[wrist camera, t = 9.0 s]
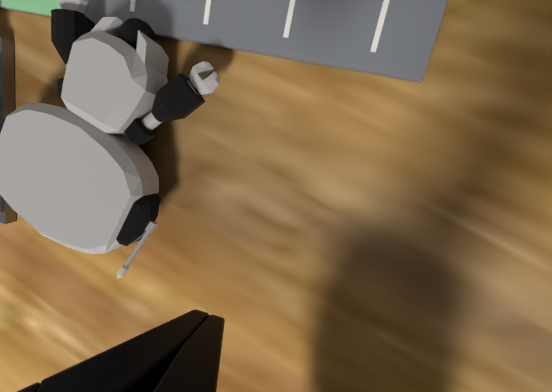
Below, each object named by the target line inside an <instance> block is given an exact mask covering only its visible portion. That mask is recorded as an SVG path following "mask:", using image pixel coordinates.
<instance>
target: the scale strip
mask: <svg viewBox="0 0 552 392" xmlns="http://www.w3.org/2000/svg"><path fill="white" fill-rule="evenodd" d="M447 2H448V0H89V3H90V8H89V9H88V11H87V13H86V15H85V16H86V17H88V18H89V19H90V20H91V21H93V22H94V23H95V25H96V24H97V23H98V22H99V21H100V20H101V19H102V18H103V17H117V18H119V19H120V20H122V21H123V22H124V21H126V20H127V19H128V18H138V19H141V20H143V21H145V22H147V23H148V24H149V25H150V26H151V28H152V29H153V30H154V33H155V36H160V37H165V38H171V39H177V40H182V41H188V42H194V43H199V44H205V45H211V46H216V47H222V48H228V49H233V50H239V51H245V52H250V53H256V54H262V55H267V56H273V57H279V58H284V59H290V60H296V61H301V62H307V63H313V64H318V65H324V66H330V67H335V68H341V69H347V70H352V71H358V72H364V73H369V74H375V75H381V76H386V77H392V78H398V79H403V80H409V81H414V82H421V81H423V79H424V75H425V72H426V69H427V66H428V63H429V59H430V56H431V53H432V50H433V47H434V43H435V40H436V37H437V34H438V31H439V27H440V24H441V21H442V18H443V14H444V11H445V8H446V5H447ZM0 8H1V9H7V10H13V11H18V12H24V13H30V14H35V15H41V16H47V17H51V10H53V9H61V6H60V4H59V2H58V0H0Z"/></svg>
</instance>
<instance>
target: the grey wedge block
mask: <svg viewBox="0 0 552 392" xmlns="http://www.w3.org/2000/svg"><path fill="white" fill-rule="evenodd" d="M14 111H15V75H14V41H12V40H9V39H5V38H2V37H0V129H1V126H2V123H3V120H4V119H5V118H6V116H8V115H9V114H11V113H12V112H14ZM15 221H16V212H15V211H14V210H13V209H12V208H11V207H10V205H9V204H8V203H7V202H6V201H5V200H4V198H3V197H2V196H1V195H0V222H1V223H4V224H7V223H11V222H15Z"/></svg>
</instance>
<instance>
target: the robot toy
mask: <svg viewBox="0 0 552 392" xmlns="http://www.w3.org/2000/svg"><path fill="white" fill-rule="evenodd" d="M58 2H59V4H60V6H61V9H53V10H51V37H52V42H53V44H54V46H55V48H56V49H57V51H58V53H59V55H60V56H61V58H62V60H63V61H64V63H65V64H66V71H65V76H64V78H61V79H59V80H58V97H60V98H62V100H63V102H64V104H65V105H66V107H67V108H65V107H60V106H55V105H50V104H45V103H32V104H25V105H22V106H21V107H19V108H18V109H16V110H15V111H14V112H12V113H11V114H9V115H8V116H6V118H5V119H4V120H3V123H2V126H1V129H0V195H1V196H2V197H3V198H4V200H5V201H6V202H7V203H8V204H9V205H10V207H11V208H12V209H13V210H14V211H15V212H16V213H18V214H19V215H20V216H21V217H22V218H23V219H24V220H26V221H27V222H28V223H29V224H30V225H31V226H32V227H33V228H35V229H36V230H37V231H38V232H39V233H40V234H41V235H43V236H45V237H47V238H49V239H52V240H54V241H56V242H58V243H60V244H62V245H64V246H66V247H68V248H71V249H74V250H77V251H80V252H84V253H89V254H102V253H107V252H109V251H112V250H114V249H116V248H119V247H121V246H123V245H125V246H128V245H130V244H132V243H134V242H136V241H139V240H140V239H141V240H140V241H139V243H138V245H137V246H136V248H135V249H134V251H133V252H132V254H131V255H130V257H129V258H128V260H127V261H126V263H125V264H124V266H123V267H121V269H120V270H119V272H118V273H117V278H118V279H119V278H120V277H122V276H123V275H125V273H126V271H127V270H128V267H129V265H130V264H131V262H132V261H133V259H134V258H135V256H136V254H137V253H138V251H139V250H140V248H141V247H142V245H143V244H144V242H145V241H146V239H147V238H148V236H149V234H150V233H151V232H154V231H155V229H156V227H157V226H158V224H157V223H156V222H155V220H156V218H157V216H158V211H159V204H160V199H161V198H160V197H159V196H158V194H157V193H158V191H159V177H158V175H157V173H156V170H155V168H154V166H153V164H152V162H151V161H150V159H149V158H148V157H147V155H146V154H145V153H144V152H143V151H142V150H141V149H140V148H139V147H138V145H139V146H142V145H145V144H146V143H147V142H149V141H150V140H151V139H152V138H154V137H155V136H156V133H155V130H154V129H155V128H156V127H157V126H158V125H159V124H161V123H162V122H166V121H173V120H177V119H182V118H185V117H187V116H188V115H189V114H190V113H192V112H193V111H194V110H195V109H197V108H198V107H199V106H200V105H202V104H203V103H204V102H205V101H204V99H203V97H202V95H204V94H209V93H213V91H214V90H215V89H216V87H217V86H218V85H219V84H220V77H219V75H218V74H217V73H216V72H215V71H214V72H213V73H212V74H211V75H209V76H208V77H207V78H205V77H206V76H207V75H208V74H209V73H210V72H211V71H213V70H214V68H213V66H212V65H211V64H210V63H209V62H205V61H203V62H201V63H199V64H197V65H195V66H193V67H192V69H191V72H190V74H189V76H188V78H187V77H186V76H185V75H183V74H180V73H178V74H177V75H176V76H175V77H174V78H172V79H171V80H170V81H169V82H168V79H167V70H168V61H169V58H168V56H167V55H166V53H165V51H164V50H163V48H162V47H161V46H160V45H159V44H157V43H156V36H155V33H154V30H153V29H152V28H151V26H150V25H149V24H148V23H147V22H145V21H143V20H141V19H138V18H128V19H127V20H126V21H124V22H123V21H122V20H120V19H119V18H117V17H103V18H102V19H101V20H100V21H99V22H98V23H97V24H96V26H95V23H94V22H93V21H91V20H90V19H89V18H88V17H86V16H85V15H86V13H87V11H88V9H89V8H90V3H89V0H58ZM204 78H205V79H204Z"/></svg>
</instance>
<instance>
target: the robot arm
mask: <svg viewBox="0 0 552 392" xmlns="http://www.w3.org/2000/svg"><path fill="white" fill-rule="evenodd" d="M224 322H225V320H224V318H222V317H219V316H216V315H209V314H208V313H206V312H203V311H199V310H192V311H190V312H188V313H186V314H184V315H181V316H179V317H177V318H175V319H173V320H171V321H169V322H166V323H164V324H162V325H160V326H158V327H156V328H153V329H151V330H149V331H147V332H145V333H143V334H141V335H138V336H136V337H134V338H132V339H130V340H128V341H125V342H123V343H121V344H119V345H117V346H115V347H113V348H110V349H108V350H106V351H104V352H102V353H100V354H97V355H95V356H93V357H91V358H89V359H87V360H85V361H82V362H80V363H78V364H76V365H74V366H72V367H69V368H67V369H65V370H63V371H61V372H59V373H57V374H54V375H52V376H50V377H48V378H46V379H44V380H42V382H41V383H38V382H37V383H35V384H32V385H30V386H28V387H26V388H24V389H22V390H20V391H17V392H216V389H217V381H218V372H219V364H220V356H221V347H222V339H223V330H224Z"/></svg>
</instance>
